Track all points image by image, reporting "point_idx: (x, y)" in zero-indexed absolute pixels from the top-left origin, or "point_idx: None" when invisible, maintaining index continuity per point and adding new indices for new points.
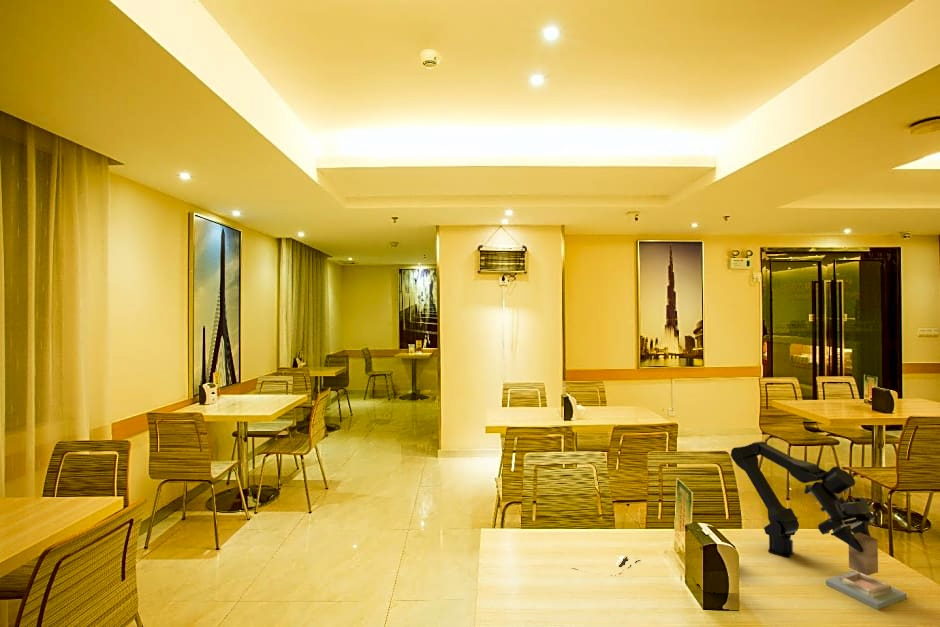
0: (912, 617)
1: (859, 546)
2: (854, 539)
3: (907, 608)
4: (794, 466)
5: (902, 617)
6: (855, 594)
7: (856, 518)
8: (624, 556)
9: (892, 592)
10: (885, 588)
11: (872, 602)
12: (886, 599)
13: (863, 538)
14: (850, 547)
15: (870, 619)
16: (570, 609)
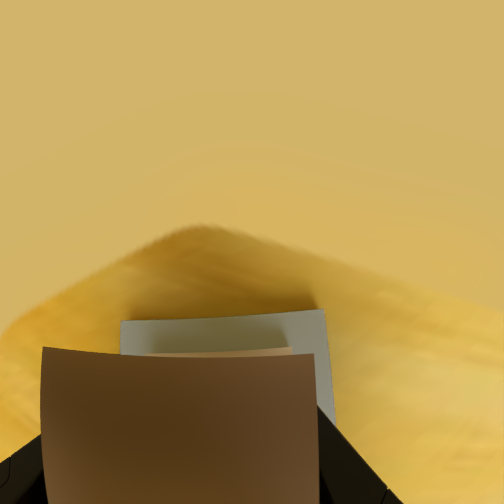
0: (246, 245)
1: (333, 428)
2: (371, 494)
3: (199, 285)
4: None
5: (280, 255)
6: (332, 392)
7: None
8: None
9: (162, 346)
10: (189, 353)
11: (325, 327)
12: (246, 322)
13: (206, 468)
14: None
15: (399, 279)
16: None
